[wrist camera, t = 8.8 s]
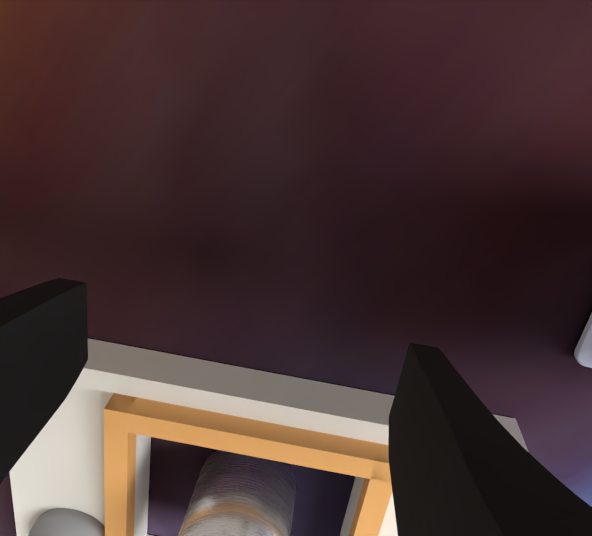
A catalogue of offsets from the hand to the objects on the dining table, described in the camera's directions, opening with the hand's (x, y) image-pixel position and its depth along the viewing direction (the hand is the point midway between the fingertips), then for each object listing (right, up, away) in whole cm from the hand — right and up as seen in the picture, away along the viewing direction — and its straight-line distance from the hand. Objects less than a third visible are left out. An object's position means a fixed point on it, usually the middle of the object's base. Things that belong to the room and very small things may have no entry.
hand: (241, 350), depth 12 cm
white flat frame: (-1, -9, +15) cm, 18 cm away
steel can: (-1, -9, +15) cm, 17 cm away
